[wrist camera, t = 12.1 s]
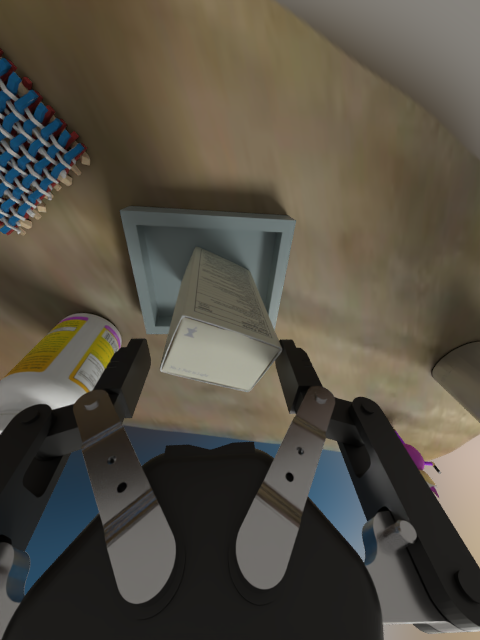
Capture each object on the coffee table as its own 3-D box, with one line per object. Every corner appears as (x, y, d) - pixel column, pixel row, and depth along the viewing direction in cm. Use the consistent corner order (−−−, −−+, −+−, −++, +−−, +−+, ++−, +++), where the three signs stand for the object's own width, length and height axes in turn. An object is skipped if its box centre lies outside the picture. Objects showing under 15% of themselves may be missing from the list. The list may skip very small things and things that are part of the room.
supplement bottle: (52, 339, 26) (-62, 457, 15) (72, 299, 23) (-48, 408, 12) (110, 362, 28) (48, 475, 18) (133, 329, 26) (77, 439, 15)
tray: (287, 215, 20) (296, 220, 18) (269, 321, 27) (273, 333, 25) (130, 205, 19) (119, 210, 17) (152, 320, 25) (146, 334, 23)
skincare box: (180, 282, 22) (152, 372, 12) (196, 242, 20) (177, 312, 10) (235, 304, 24) (248, 396, 14) (254, 270, 22) (285, 350, 12)
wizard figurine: (365, 428, 45) (407, 501, 35) (375, 420, 43) (422, 493, 33) (404, 434, 48) (453, 502, 38) (415, 426, 46) (469, 495, 36)
